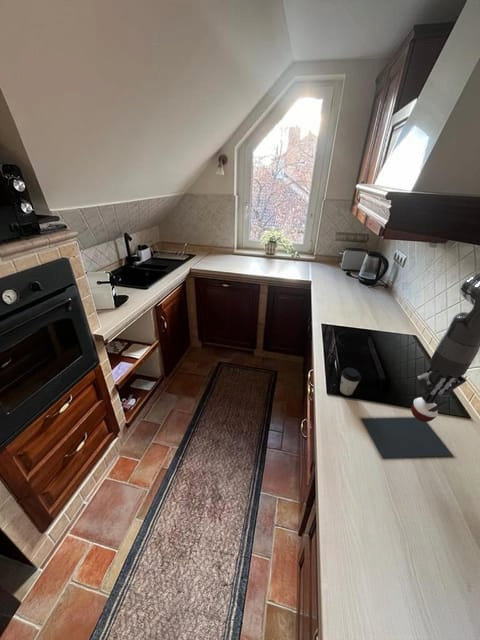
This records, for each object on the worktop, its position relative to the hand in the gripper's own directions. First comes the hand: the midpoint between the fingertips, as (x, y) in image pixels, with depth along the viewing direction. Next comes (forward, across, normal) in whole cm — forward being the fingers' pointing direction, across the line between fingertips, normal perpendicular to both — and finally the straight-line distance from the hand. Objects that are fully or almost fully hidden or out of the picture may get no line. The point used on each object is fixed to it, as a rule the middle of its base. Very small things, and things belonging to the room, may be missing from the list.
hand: (427, 401), depth 73 cm
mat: (+18, 0, +1) cm, 18 cm away
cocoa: (+7, 0, 0) cm, 7 cm away
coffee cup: (+18, -11, +21) cm, 30 cm away
